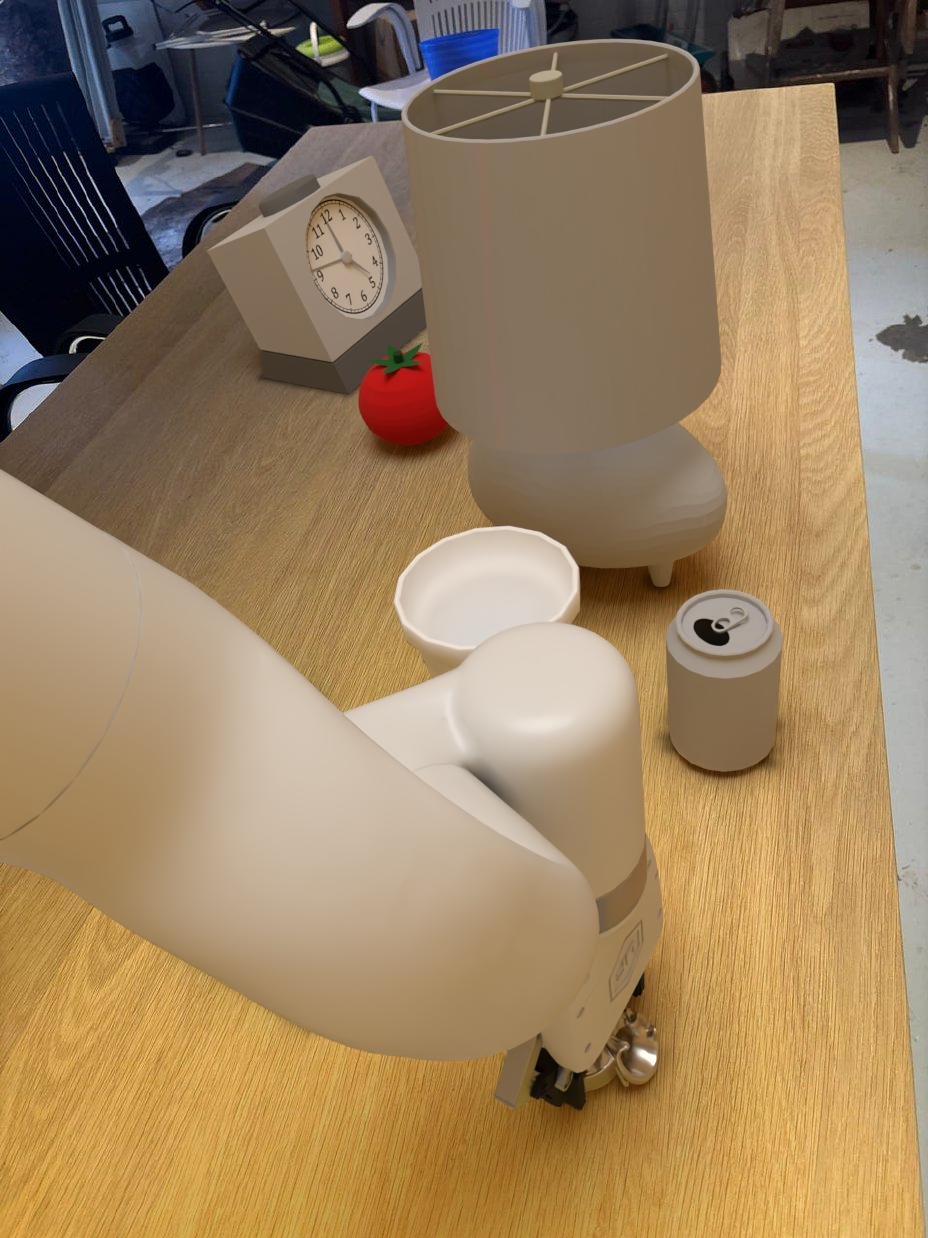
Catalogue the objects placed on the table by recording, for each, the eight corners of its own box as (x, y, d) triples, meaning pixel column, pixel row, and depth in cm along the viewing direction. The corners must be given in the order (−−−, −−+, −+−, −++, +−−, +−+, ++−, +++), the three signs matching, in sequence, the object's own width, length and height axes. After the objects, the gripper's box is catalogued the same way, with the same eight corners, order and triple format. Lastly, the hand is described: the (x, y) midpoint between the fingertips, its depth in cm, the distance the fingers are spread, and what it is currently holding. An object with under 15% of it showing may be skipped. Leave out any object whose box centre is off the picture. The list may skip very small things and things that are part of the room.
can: (648, 728, 76) (642, 610, 68) (730, 685, 78) (734, 565, 70) (711, 796, 71) (712, 677, 63) (798, 748, 73) (810, 626, 65)
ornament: (668, 998, 61) (667, 967, 58) (652, 1115, 56) (650, 1086, 54) (536, 974, 63) (530, 943, 61) (510, 1084, 59) (502, 1056, 56)
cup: (500, 654, 84) (471, 505, 74) (629, 713, 78) (617, 558, 67) (400, 755, 78) (354, 607, 68) (531, 829, 71) (502, 677, 61)
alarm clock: (348, 394, 120) (303, 223, 106) (248, 374, 127) (194, 212, 114) (441, 312, 132) (411, 148, 118) (344, 298, 139) (305, 143, 126)
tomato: (479, 414, 112) (464, 331, 105) (438, 469, 106) (420, 384, 99) (395, 405, 116) (377, 324, 110) (351, 458, 110) (328, 375, 103)
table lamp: (772, 525, 91) (799, 20, 64) (662, 688, 79) (639, 151, 52) (549, 470, 102) (493, 23, 76) (424, 605, 90) (305, 130, 64)
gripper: (544, 1059, 41) (577, 1216, 53) (715, 752, 51) (710, 942, 62) (392, 977, 44) (455, 1141, 56) (579, 705, 54) (599, 893, 66)
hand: (589, 1035), depth 59 cm, fingers closed on ornament, 6 cm apart
